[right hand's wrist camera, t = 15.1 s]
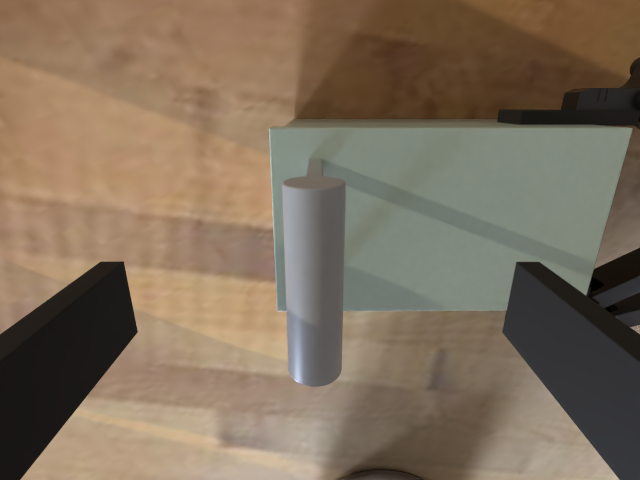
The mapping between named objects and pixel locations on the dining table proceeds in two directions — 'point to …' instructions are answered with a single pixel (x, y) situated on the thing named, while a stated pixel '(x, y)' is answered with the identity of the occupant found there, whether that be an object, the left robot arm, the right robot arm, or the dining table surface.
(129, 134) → the dining table surface
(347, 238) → the lid
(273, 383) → the dining table surface
